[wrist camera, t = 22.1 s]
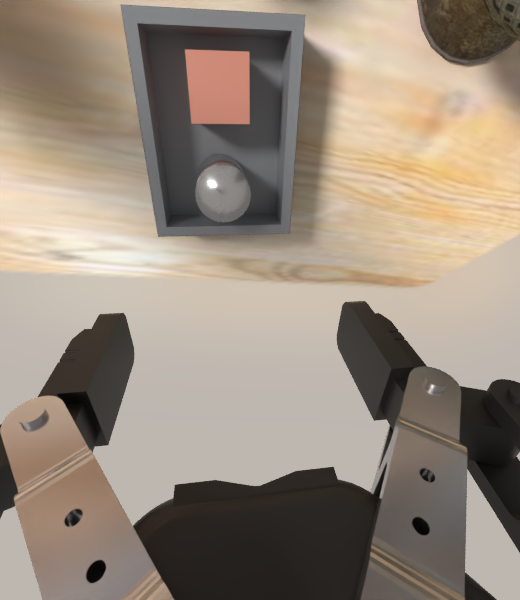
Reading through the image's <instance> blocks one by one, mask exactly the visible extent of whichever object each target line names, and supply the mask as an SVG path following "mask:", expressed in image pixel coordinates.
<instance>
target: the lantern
mask: <svg viewBox="0 0 520 600" xmlns="http://www.w3.org/2000/svg"><path fill="white" fill-rule="evenodd" d="M417 3H418V9H419V16H420V23H421V28H422V30H423V32H424V34H425V36H426V38H427V40H428V42H429V44H430V46H431V48H433V49H434V50H435V51H436V52H437V53H439V54H440V55H441V56H442V57H443V58H444V59H446V60H449V61H454V62H458V63H462V64H466V63H472V62H477V61H482V60H487V59H489V58H491V57H493V56H494V55H496V54H498V53H500V52H502V51H503V50H505V49H507V48H508V47H510V46H511V45H512V44H513V43H514V42H515V41H516V40H517V39H518V40H520V0H417Z"/></svg>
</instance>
